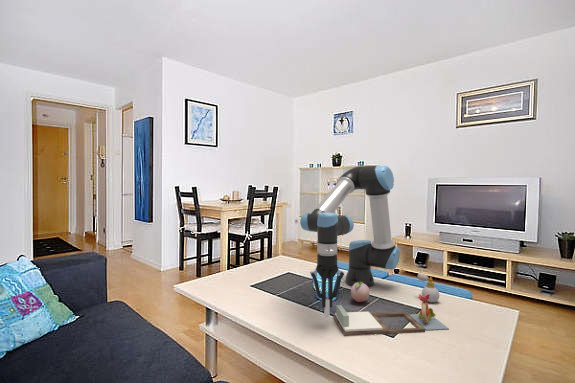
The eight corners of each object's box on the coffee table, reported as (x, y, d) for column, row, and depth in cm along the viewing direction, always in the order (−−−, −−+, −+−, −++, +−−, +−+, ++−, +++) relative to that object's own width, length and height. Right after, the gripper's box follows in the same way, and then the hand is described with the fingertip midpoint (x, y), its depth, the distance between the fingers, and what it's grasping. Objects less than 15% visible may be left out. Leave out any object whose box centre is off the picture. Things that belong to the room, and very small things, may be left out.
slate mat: (408, 315, 126) (408, 314, 126) (429, 314, 127) (429, 313, 127) (426, 330, 113) (426, 329, 113) (448, 329, 114) (448, 328, 114)
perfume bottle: (438, 306, 136) (438, 279, 135) (415, 301, 141) (415, 275, 141) (440, 300, 142) (440, 275, 142) (417, 296, 147) (418, 271, 147)
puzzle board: (333, 317, 124) (333, 315, 124) (405, 314, 127) (405, 312, 127) (344, 336, 109) (344, 333, 109) (425, 332, 112) (425, 329, 112)
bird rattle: (434, 330, 116) (435, 313, 124) (434, 308, 112) (435, 291, 119) (417, 327, 119) (418, 310, 127) (416, 305, 115) (418, 289, 122)
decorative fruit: (368, 307, 134) (368, 285, 133) (349, 305, 136) (349, 283, 136) (370, 300, 142) (370, 278, 142) (352, 297, 145) (352, 277, 145)
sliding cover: (335, 314, 123) (335, 303, 123) (368, 313, 125) (368, 301, 125) (345, 331, 109) (345, 318, 109) (382, 329, 111) (382, 316, 111)
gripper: (312, 256, 111) (311, 320, 111) (346, 255, 112) (346, 319, 113) (308, 251, 118) (308, 311, 119) (341, 251, 120) (340, 310, 120)
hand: (326, 315), depth 116 cm, fingers closed
